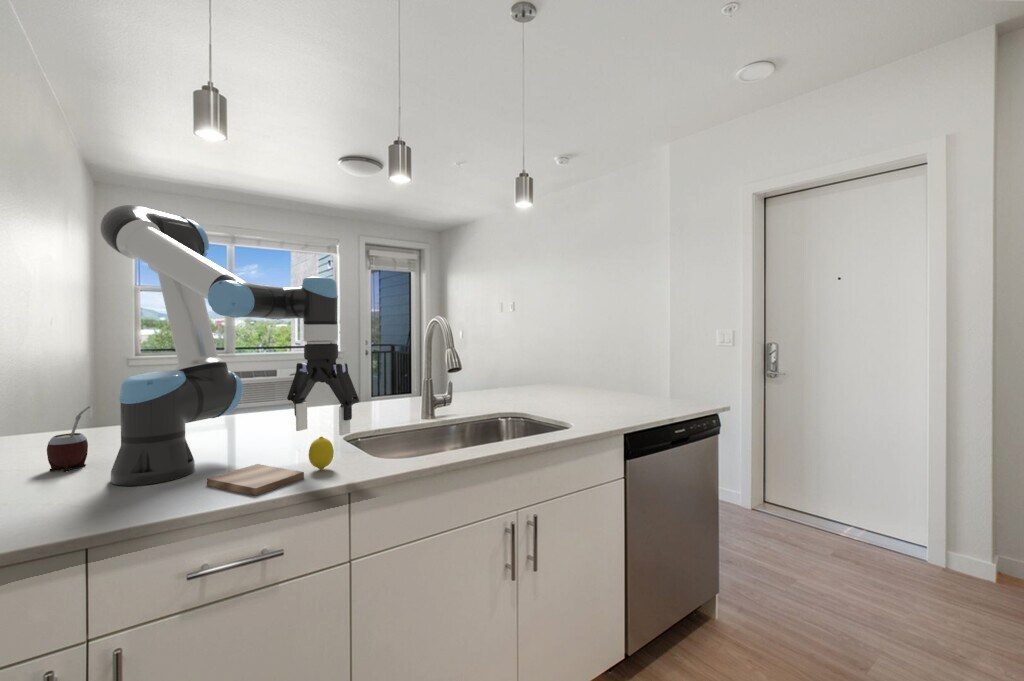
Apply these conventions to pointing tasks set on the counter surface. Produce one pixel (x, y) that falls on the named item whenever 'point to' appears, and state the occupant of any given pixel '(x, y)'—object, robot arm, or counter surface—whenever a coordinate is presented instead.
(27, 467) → the counter surface
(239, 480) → the walnut board
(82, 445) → the mate gourd
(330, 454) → the lemon
